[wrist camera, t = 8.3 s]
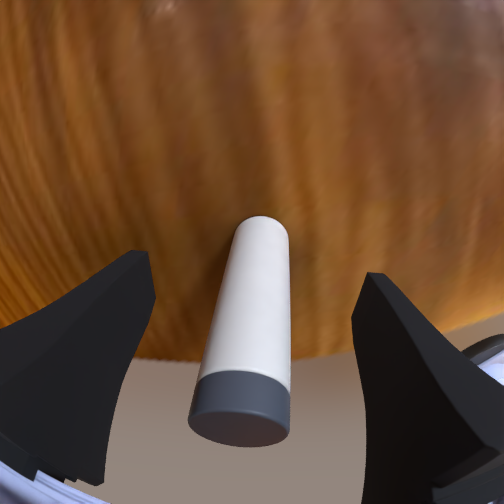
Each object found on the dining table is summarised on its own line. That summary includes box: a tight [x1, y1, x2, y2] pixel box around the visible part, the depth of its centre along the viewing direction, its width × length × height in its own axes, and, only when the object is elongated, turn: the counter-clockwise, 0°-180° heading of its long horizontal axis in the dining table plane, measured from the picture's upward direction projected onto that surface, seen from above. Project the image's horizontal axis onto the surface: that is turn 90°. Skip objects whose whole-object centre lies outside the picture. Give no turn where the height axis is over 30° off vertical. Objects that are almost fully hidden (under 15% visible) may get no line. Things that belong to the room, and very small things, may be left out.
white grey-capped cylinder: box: [188, 216, 291, 447], centre depth 9 cm, size 2×2×8 cm
